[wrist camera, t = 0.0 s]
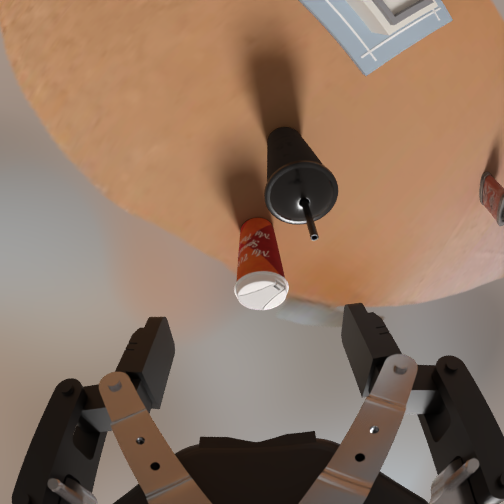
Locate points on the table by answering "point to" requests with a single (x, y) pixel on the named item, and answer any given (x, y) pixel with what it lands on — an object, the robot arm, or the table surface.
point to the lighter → (492, 197)
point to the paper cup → (259, 267)
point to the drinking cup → (297, 181)
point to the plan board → (367, 36)
